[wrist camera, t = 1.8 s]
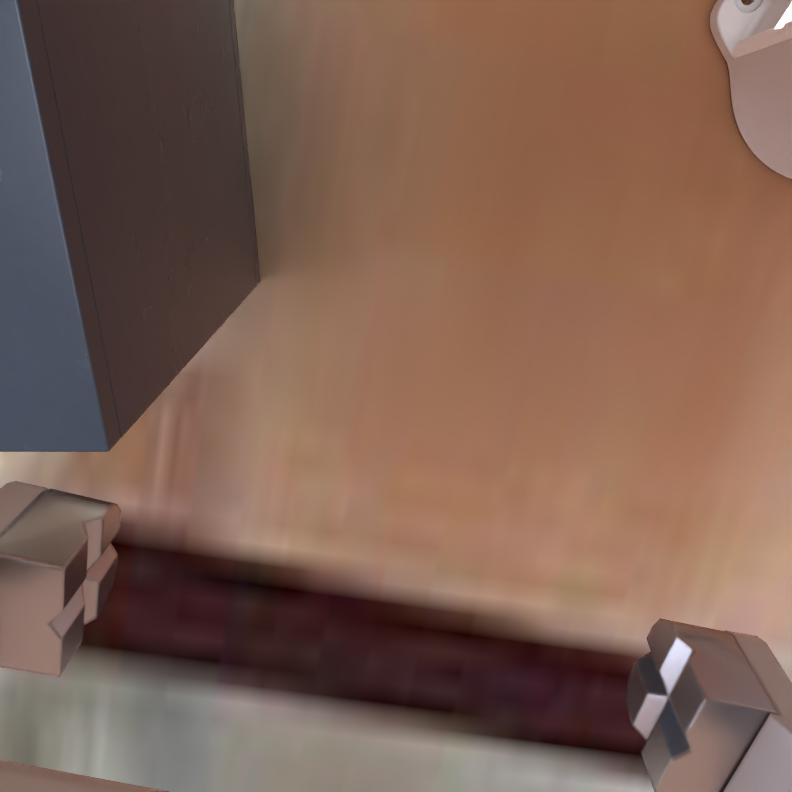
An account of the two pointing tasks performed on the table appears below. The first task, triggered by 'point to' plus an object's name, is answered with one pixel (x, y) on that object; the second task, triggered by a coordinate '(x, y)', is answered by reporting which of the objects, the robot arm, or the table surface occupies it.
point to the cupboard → (115, 209)
